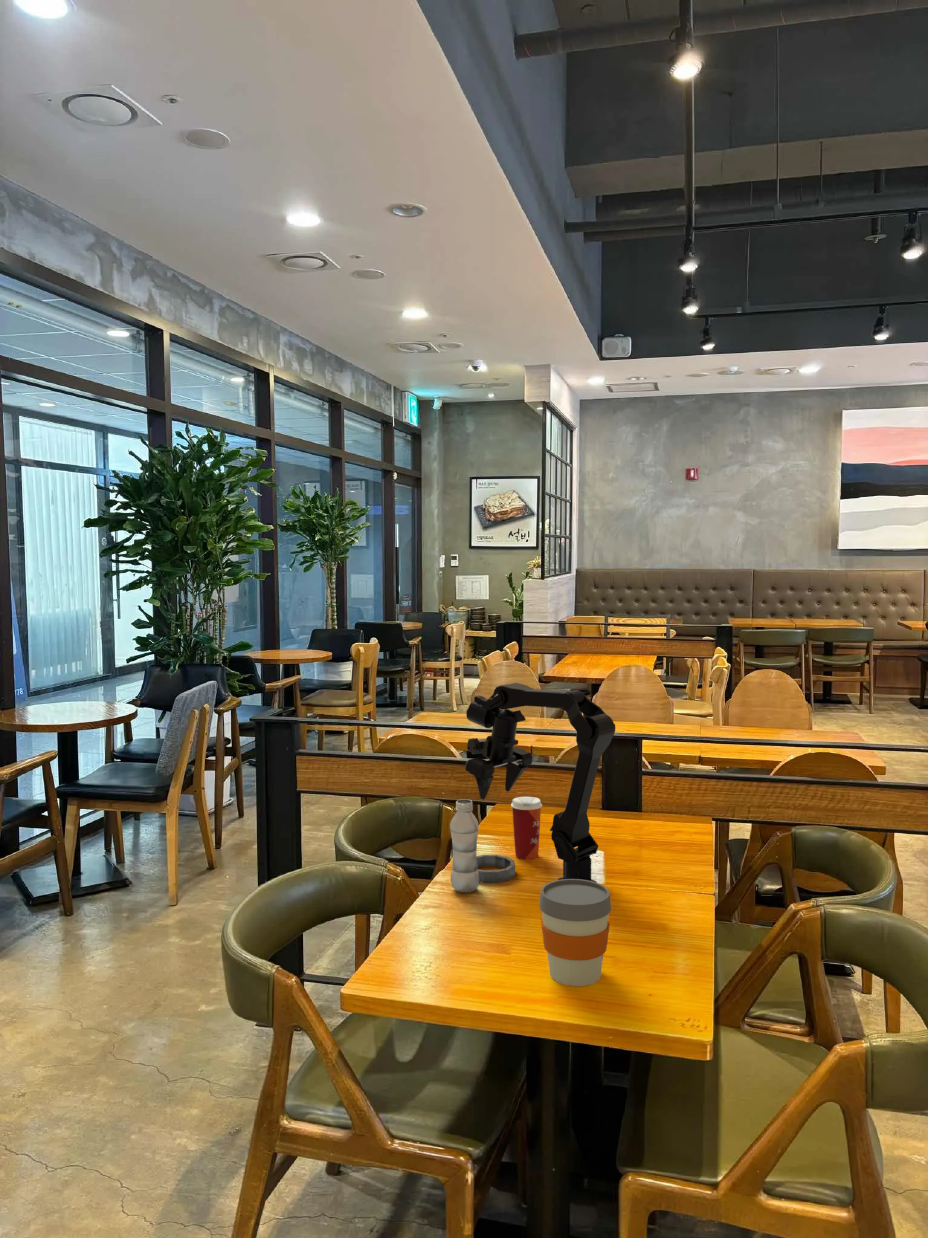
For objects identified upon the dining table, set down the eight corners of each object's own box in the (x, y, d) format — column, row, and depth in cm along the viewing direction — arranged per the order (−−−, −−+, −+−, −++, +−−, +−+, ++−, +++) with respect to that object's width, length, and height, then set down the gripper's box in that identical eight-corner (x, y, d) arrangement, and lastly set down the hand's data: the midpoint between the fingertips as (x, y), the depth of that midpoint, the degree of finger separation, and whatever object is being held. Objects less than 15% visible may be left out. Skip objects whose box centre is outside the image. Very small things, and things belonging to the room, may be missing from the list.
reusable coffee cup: (534, 959, 162) (534, 879, 161) (602, 956, 163) (602, 877, 161) (545, 993, 149) (545, 907, 148) (618, 990, 150) (619, 904, 149)
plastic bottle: (455, 897, 191) (454, 807, 190) (447, 886, 198) (446, 799, 196) (483, 894, 193) (482, 804, 191) (474, 883, 199) (474, 796, 198)
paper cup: (543, 861, 213) (543, 804, 212) (511, 861, 213) (511, 804, 212) (541, 850, 221) (541, 795, 220) (510, 850, 221) (510, 795, 220)
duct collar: (524, 876, 203) (524, 866, 203) (481, 886, 198) (481, 875, 197) (498, 861, 213) (498, 851, 213) (456, 870, 208) (456, 860, 207)
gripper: (503, 718, 223) (495, 776, 227) (452, 730, 210) (444, 791, 213) (537, 732, 216) (528, 791, 219) (487, 745, 202) (478, 808, 206)
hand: (495, 794), depth 214 cm, fingers open, 9 cm apart
